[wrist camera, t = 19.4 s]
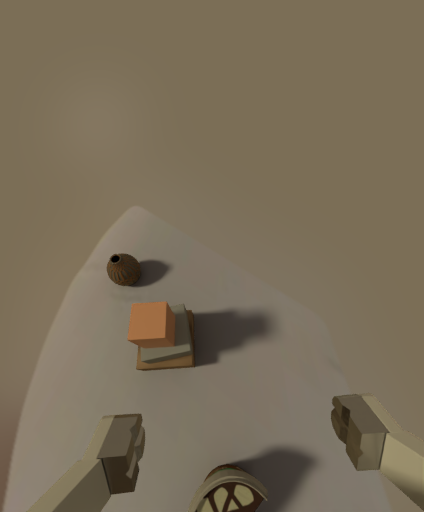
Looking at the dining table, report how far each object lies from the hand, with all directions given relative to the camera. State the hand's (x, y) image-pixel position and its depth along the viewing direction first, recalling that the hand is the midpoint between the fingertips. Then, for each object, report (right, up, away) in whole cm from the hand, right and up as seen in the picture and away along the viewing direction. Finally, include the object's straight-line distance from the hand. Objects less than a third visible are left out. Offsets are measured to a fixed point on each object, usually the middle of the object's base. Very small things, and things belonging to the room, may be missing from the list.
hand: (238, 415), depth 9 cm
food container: (0, -30, +26) cm, 40 cm away
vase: (-21, +2, +45) cm, 50 cm away
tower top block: (-9, -9, +33) cm, 35 cm away
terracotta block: (-10, -6, +29) cm, 31 cm away
